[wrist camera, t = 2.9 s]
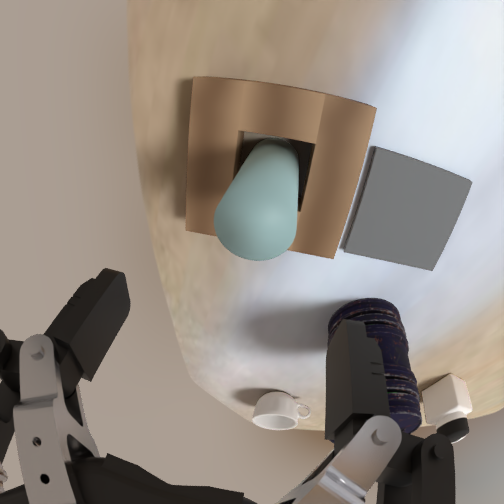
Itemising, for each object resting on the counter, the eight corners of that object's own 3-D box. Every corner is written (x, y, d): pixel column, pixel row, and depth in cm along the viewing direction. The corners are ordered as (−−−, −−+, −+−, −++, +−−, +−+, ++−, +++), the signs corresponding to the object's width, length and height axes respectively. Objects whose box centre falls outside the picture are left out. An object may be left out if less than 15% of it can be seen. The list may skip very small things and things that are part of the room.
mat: (469, 180, 22) (472, 182, 22) (430, 267, 28) (432, 270, 28) (375, 146, 23) (376, 147, 22) (343, 248, 29) (344, 252, 28)
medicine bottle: (420, 391, 43) (428, 447, 33) (450, 372, 39) (463, 430, 29) (437, 397, 44) (446, 448, 34) (465, 380, 40) (478, 432, 30)
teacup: (260, 405, 51) (256, 429, 47) (252, 386, 47) (247, 412, 42) (312, 405, 49) (311, 430, 44) (311, 386, 44) (309, 414, 40)
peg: (303, 143, 24) (304, 196, 14) (294, 188, 26) (287, 267, 16) (253, 134, 24) (216, 180, 14) (247, 179, 27) (211, 252, 17)
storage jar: (321, 346, 38) (318, 447, 26) (334, 294, 33) (339, 414, 20) (387, 349, 37) (400, 444, 25) (411, 299, 31) (440, 408, 19)
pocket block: (368, 104, 21) (376, 108, 18) (331, 241, 29) (333, 259, 26) (205, 76, 21) (193, 77, 19) (195, 215, 30) (185, 230, 27)
